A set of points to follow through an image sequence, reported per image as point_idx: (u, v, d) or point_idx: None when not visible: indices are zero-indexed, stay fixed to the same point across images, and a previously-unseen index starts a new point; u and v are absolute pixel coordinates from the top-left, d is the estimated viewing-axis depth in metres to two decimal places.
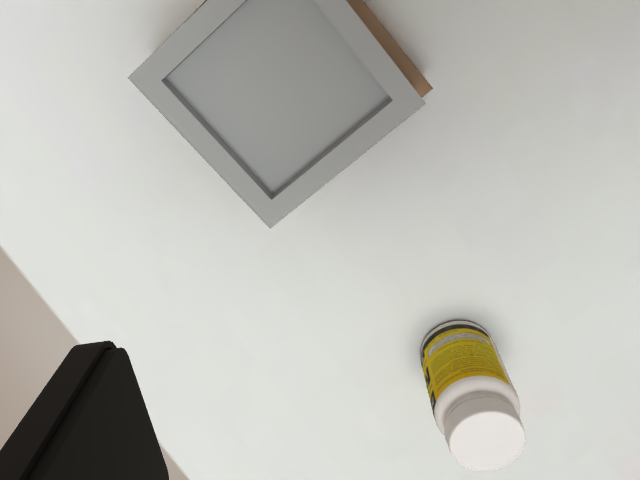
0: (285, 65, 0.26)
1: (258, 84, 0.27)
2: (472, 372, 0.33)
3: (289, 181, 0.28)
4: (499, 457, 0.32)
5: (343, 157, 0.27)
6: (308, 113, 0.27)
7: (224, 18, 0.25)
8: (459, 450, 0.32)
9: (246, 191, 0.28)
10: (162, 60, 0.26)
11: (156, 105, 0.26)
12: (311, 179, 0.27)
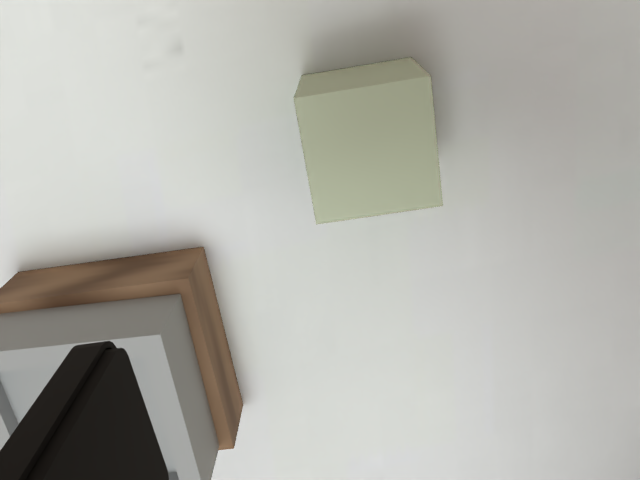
0: None
1: None
2: None
3: None
4: None
5: None
6: None
7: None
8: None
9: None
10: None
11: None
12: None
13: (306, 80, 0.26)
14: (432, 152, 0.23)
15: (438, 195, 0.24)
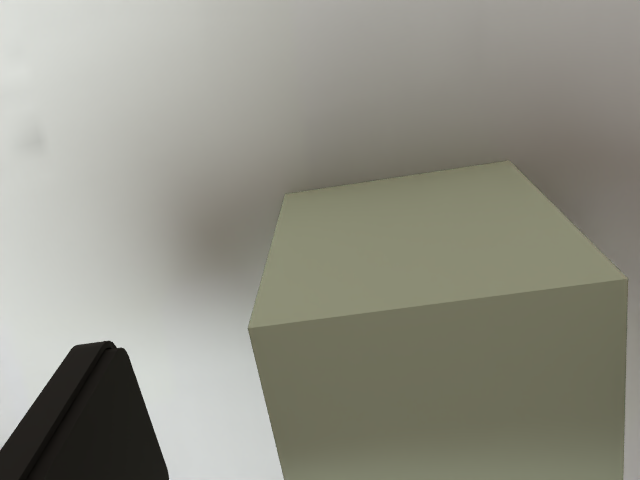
0: None
1: None
2: None
3: None
4: None
5: None
6: None
7: None
8: None
9: None
10: None
11: None
12: None
13: (292, 220, 0.12)
14: (609, 452, 0.09)
15: None
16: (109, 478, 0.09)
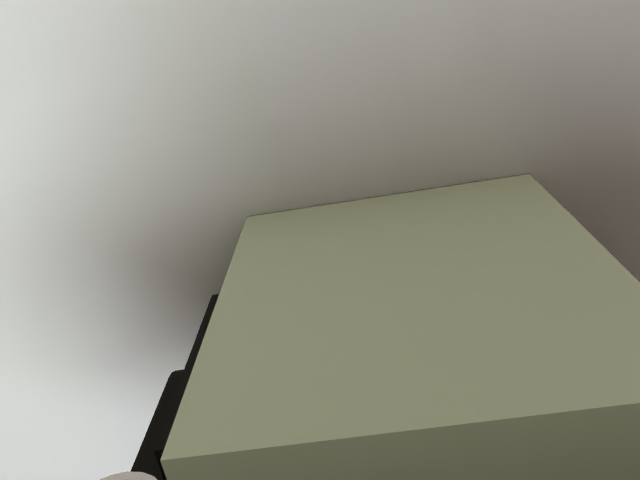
0: None
1: None
2: None
3: None
4: None
5: None
6: None
7: None
8: None
9: None
10: None
11: None
12: None
13: (250, 258, 0.09)
14: None
15: None
16: None
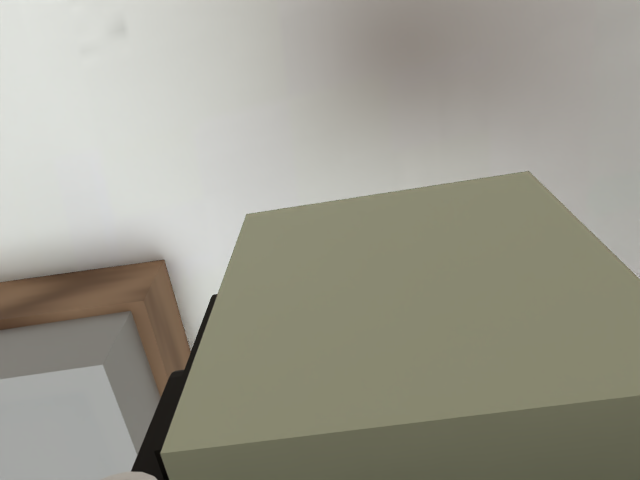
0: (49, 449, 0.23)
1: (11, 451, 0.23)
2: None
3: None
4: None
5: None
6: None
7: None
8: None
9: None
10: None
11: None
12: None
13: (250, 255, 0.09)
14: None
15: None
16: None
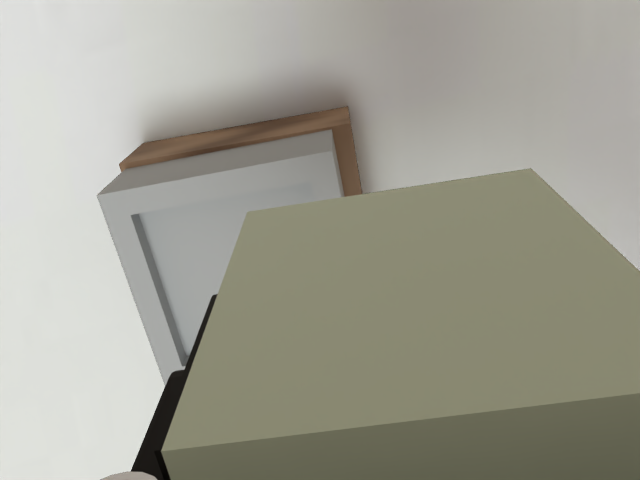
0: None
1: (225, 259, 0.25)
2: None
3: None
4: None
5: None
6: None
7: (226, 196, 0.23)
8: None
9: (161, 348, 0.25)
10: (142, 198, 0.23)
11: (112, 233, 0.23)
12: None
13: (251, 252, 0.09)
14: None
15: None
16: None
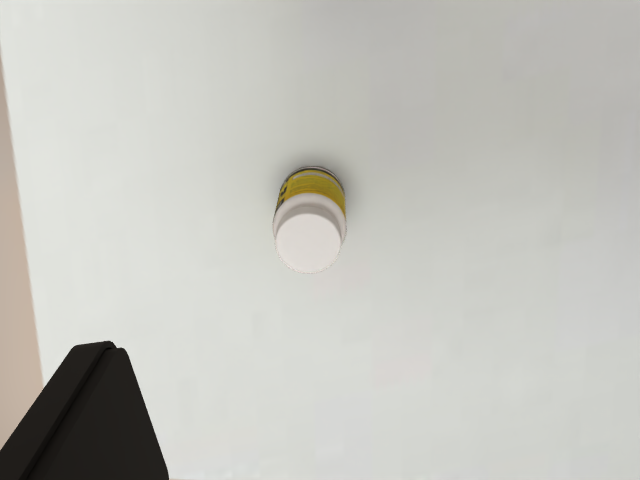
0: None
1: None
2: (324, 194, 0.38)
3: None
4: (309, 262, 0.37)
5: None
6: None
7: None
8: (283, 239, 0.36)
9: None
10: None
11: None
12: None
13: None
14: None
15: None
16: (109, 478, 0.09)
